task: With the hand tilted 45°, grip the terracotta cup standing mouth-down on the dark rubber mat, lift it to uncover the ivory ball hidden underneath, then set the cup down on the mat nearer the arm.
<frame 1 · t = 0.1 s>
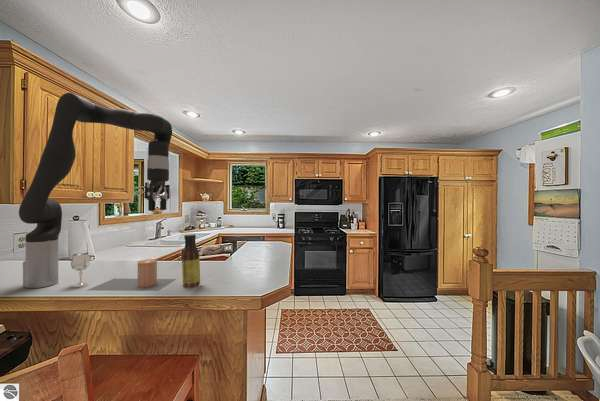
hand: (157, 210, 104), 29 cm above the table, tool pointing down, fingers open, 8 cm apart
ivory ball: (147, 280, 104), in the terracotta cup, touching rubber mat
sauce bottle: (191, 286, 103), on the table
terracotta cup: (147, 272, 104), on the rubber mat
rubber mat: (134, 285, 104), on the table
wineglass: (80, 285, 104), on the table
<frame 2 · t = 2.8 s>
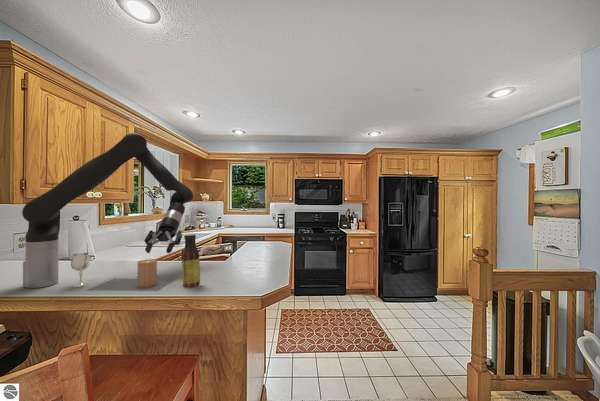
hand: (157, 252, 111), 11 cm above the table, tool tilted 45°, fingers open, 8 cm apart
nothing on the table moved.
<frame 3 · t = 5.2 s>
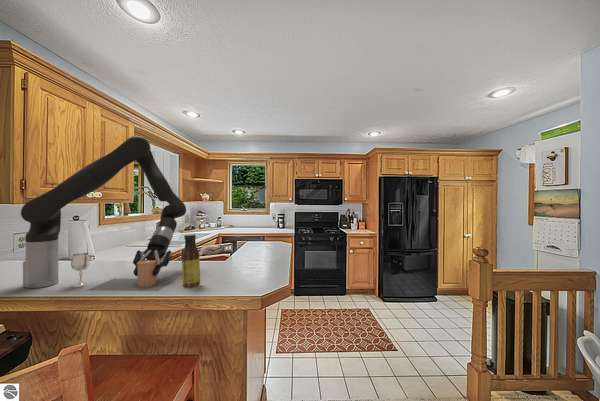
hand: (144, 275, 102), 5 cm above the table, tool tilted 45°, fingers closed on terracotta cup, 6 cm apart
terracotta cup: (147, 272, 104), on the rubber mat, touching gripper
everything else where it was.
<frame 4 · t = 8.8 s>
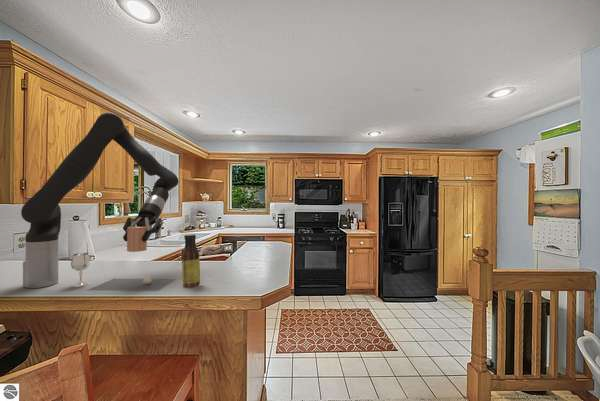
hand: (134, 240, 102), 18 cm above the table, tool tilted 45°, fingers closed on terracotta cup, 6 cm apart
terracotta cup: (137, 238, 103), point 18 cm above the table, touching gripper
everything else where it was.
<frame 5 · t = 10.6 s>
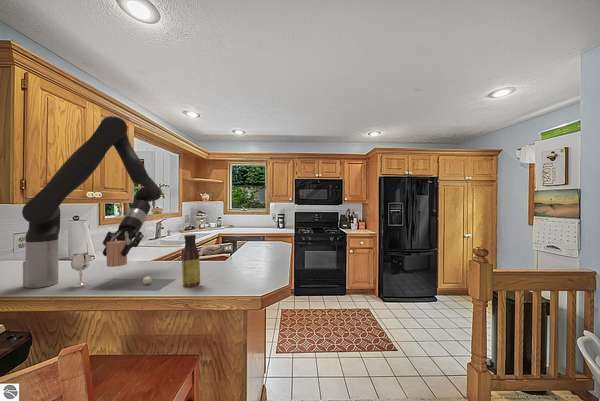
hand: (114, 255, 102), 12 cm above the table, tool tilted 45°, fingers closed on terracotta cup, 6 cm apart
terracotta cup: (116, 253, 104), point 12 cm above the table, touching gripper
everything else where it was.
when the fingers open (5 cm above the table, at t = 12.3 s): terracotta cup stays where it is, resting on rubber mat.
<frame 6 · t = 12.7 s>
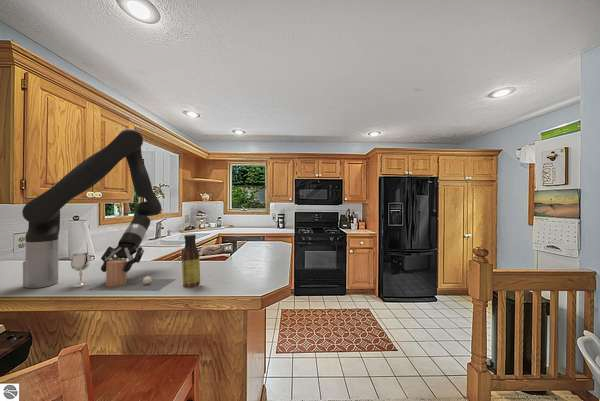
hand: (114, 271, 102), 6 cm above the table, tool tilted 45°, fingers open, 8 cm apart
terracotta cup: (116, 272, 104), on the rubber mat
everything else where it was.
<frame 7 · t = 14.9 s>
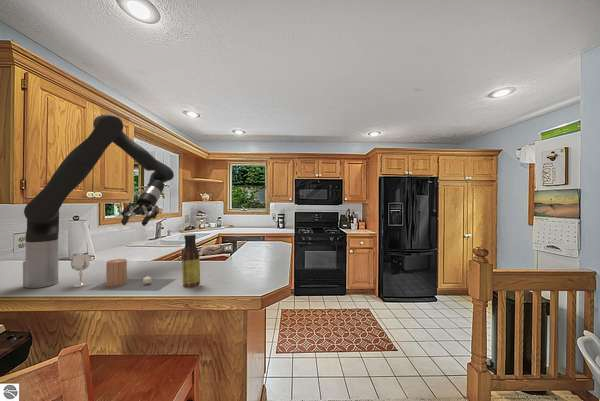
hand: (133, 224, 114), 23 cm above the table, tool tilted 45°, fingers open, 8 cm apart
nothing on the table moved.
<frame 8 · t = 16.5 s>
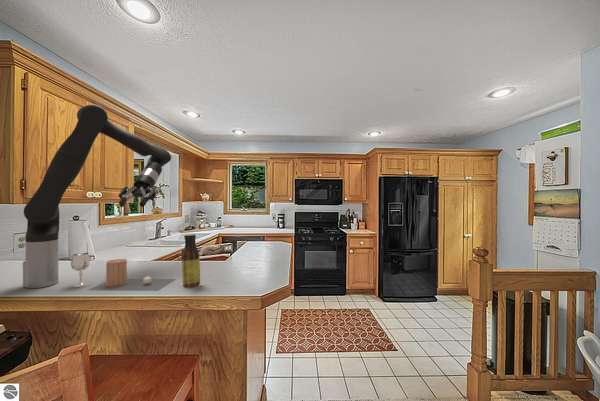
hand: (130, 205, 112), 31 cm above the table, tool tilted 45°, fingers open, 8 cm apart
nothing on the table moved.
at the end: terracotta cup inside the target area (0.1 cm from its centre), point 5.0 cm above the table; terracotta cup tilted 0°; the gripper is holding nothing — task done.
